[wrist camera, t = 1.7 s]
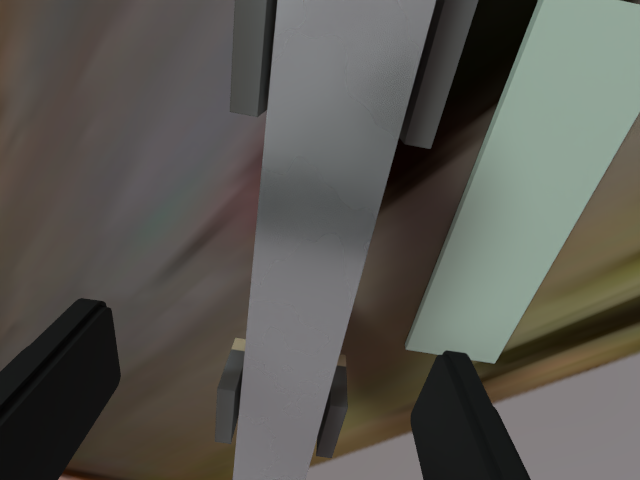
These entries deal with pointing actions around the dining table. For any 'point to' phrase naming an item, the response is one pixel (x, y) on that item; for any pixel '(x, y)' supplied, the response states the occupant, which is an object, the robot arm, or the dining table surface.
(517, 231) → the mat
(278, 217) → the rail
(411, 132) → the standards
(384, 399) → the dining table surface
